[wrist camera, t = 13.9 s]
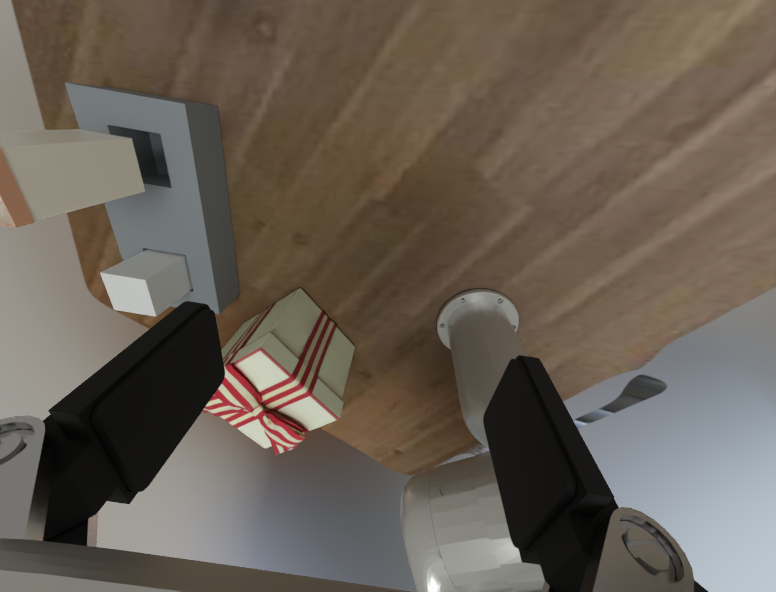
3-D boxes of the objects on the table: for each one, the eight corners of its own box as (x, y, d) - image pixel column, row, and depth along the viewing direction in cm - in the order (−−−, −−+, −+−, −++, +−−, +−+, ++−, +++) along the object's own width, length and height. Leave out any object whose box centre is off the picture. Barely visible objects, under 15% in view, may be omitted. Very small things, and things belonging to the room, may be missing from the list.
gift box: (226, 335, 53) (156, 417, 39) (295, 279, 47) (241, 353, 32) (297, 390, 59) (260, 479, 45) (366, 347, 53) (349, 436, 38)
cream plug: (145, 192, 31) (16, 227, 21) (96, 183, 31) (-58, 215, 21) (132, 137, 29) (-24, 147, 19) (78, 128, 29) (-108, 133, 18)
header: (239, 293, 49) (190, 343, 38) (165, 281, 48) (94, 328, 37) (217, 106, 35) (132, 100, 24) (115, 87, 35) (-17, 73, 24)
